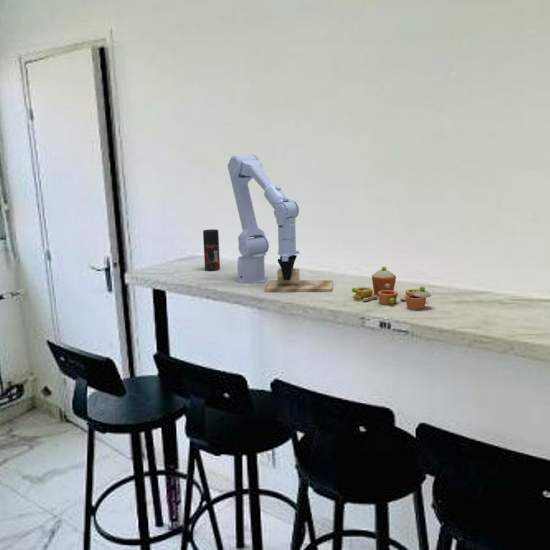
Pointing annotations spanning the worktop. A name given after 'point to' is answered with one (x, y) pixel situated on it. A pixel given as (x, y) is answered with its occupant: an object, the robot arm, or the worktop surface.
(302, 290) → the board
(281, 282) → the block
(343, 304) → the worktop surface
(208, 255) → the deodorant
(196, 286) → the worktop surface
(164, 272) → the worktop surface
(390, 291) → the toy tea set
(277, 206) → the robot arm
